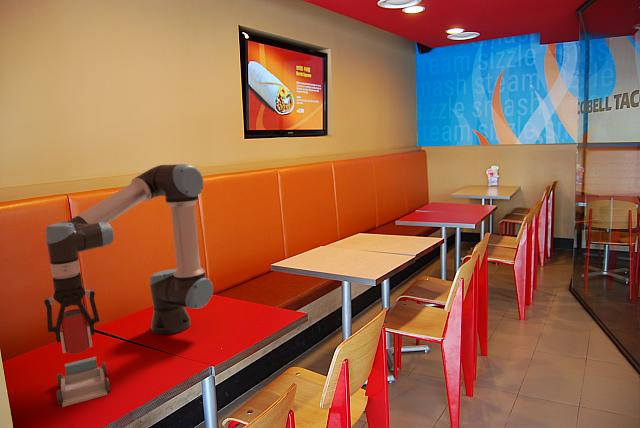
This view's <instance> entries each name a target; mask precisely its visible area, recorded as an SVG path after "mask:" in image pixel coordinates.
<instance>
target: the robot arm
mask: <svg viewBox="0 0 640 428" xmlns="http://www.w3.org/2000/svg"><path fill="white" fill-rule="evenodd" d="M203 188H204V178H203V175H202V173H201V171H200V170H199V169H198V168H197V167H196V166H194V165H191V164H185V163H184V164H183V163H180V164H159V165H156V166H153V167H152V168H150V169H148V170H146V171H144V172H143V173H141V174H139V175H137V176H136V177H134V178H132V180H131V182H130V184H128V185H126V186H124V187H123V188H121V189H120V190H118V191H116V192H114V193H113V194H111V195H110V196H108V197H106V198H105V199H103V200H101V201H100V202H98V203H95V204H94V205H92V206H91V207H90V208H88V209H86V210H85V211H83V212H81V213H80V214H78V215H76V216H74V217H73V218H71V219H69V220H67V221H59V222H56V223H52V224H49V225H47V226H46V227H45V241H46V244H47V252H48V256H49V257H48V258H49V263H50V264H49V265H50V271H51V276H52V277H53V278H52V284H53V289H54V293H53V295H52V296H50V297H45V298H44V301H43V303H44V305H45V306H46V317H47V318H46V319H47V321H46V322H47V332H48V333H55V339H56V342H57V343H59V344H60V343H61V348H62V354H66V353H67V352H66V349H65V343H64V336H63V330H62V324H61V323H62V319H63V315H64V312H66V311H65V310H66V308H68V307H71V306H77V307H78V309H80V310H81V312H82V314H83V315H84V317H85V319H86V325H87V332H88V339H89V345H90V346H89V348H93V341H92V336H94V335H95V324H96V323H99V322H100V317H99V313H98V309H97V308H98V307H97V306H96V301H95V294H96V293H95V292H96V291H95V290H94V289H92V288H91V289H89V290H88V289H87V290H86V289H85V288H84V287H83V280H82V279H83V278H82V274H81V273H80V272H81V266H80V259H79V253H82V252H84V251H85V252H86V251H89V250H93V249H97V248H103V247H106V246H108V245H111V244H112V243H113V241H114V238H115V234H114V229H113V226H111V224H110V223H111V222H112V221H113V220H115V219H117V218H119V217H120V216H121V215H123V214H125V213H126V212H128V211H130V210H132V209H133V208H135V207H136V206H137V205H138V204H140V203H142V202H148V201H150V200H152V199H154V198H158V197H165V203H166V204H167V205H168V206H170V212H171V222H172V224H171V225H172V231H173V241H174V243H173V244H174V250H175V251H174V252H175V259H176V260H175V261H176V262H175V263H176V268H170V269H164V270H161V271H160V270H159V271H158V272H157V271H156V272H155V273H153V274H152V275H150V278H149V286H150V294H151V300H152V307H153V314H152V320H151V324H150V328H151V329H150V330H151V333H153V334H155V335H171V334H177V333H179V332H182V331H185V330H186V329H188V328H190V326H191V318H190V316H189V313H188V312H187V309H186V308H188V309H202V308H203V307H206V305H208V304H209V301H210V300H211V299H212V297H213V293H214V284H213V283H212V281H211V280H210V279H209V278H207V277H206V271H205V269H204V268H203V267H201V258H200V248H199V236H198V228H197V227H198V225H197V217H196V207H195V205H196V203H197V202H198V201H199V195H201V193H202V192H203V191H202V190H203ZM84 295H86V297H87V298H89V303H90V306H91V311H92V315H93V318H92V316H91V315H90V313H89V311H88V310H87V308H86V307H85V305H84V303H83V301H82V299H83V297H84ZM54 301H55V302H57V303H58V304H59V305H60V306H59V310H58V314H57V320H56V324H55V326H54V325H53V307H52V306H53V305H54Z"/></svg>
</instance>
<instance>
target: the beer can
mask: <svg viewBox="0 0 640 428" xmlns="http://www.w3.org/2000/svg"><path fill="white" fill-rule="evenodd" d="M86 324H87V320H86V319H85V317H84V315H83V314H82V312H81V310H80V309H79V308H77V309H76V308H75V309H70V310H67V311H64V315H63V319H62V323H61V329H62V330H63V336H64V343H65V349H66V353H67V354H70V355H71V354H72V355H73V354H80V353H82V352H85V351H86V350H88V349H89V348H90V345H89V339H88V332H87V325H86Z"/></svg>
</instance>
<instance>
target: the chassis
mask: <svg viewBox="0 0 640 428" xmlns="http://www.w3.org/2000/svg"><path fill="white" fill-rule="evenodd" d="M100 364H101V366H99V367H98V363H97V356H93V357H89V358H85V359H81V360H76V361H72V362H69V363H64V369H65V370H64V371H65V375H63V373H61V372H60V373H57V374H56V381H57V385H58V386H57V387H58V388H60V389H58V390H56V400H57V404H58V406H60V405H61V406H62V408H64V407H67V406H71V405H75V404H78V403H83V402H86V401H90V400H93V399H97V398H100V397H104V396H107V395H108V392H110V391H111V386H110V379H109V377H105V376H107V375H108V371H107V365H106V362H101V363H100Z"/></svg>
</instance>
